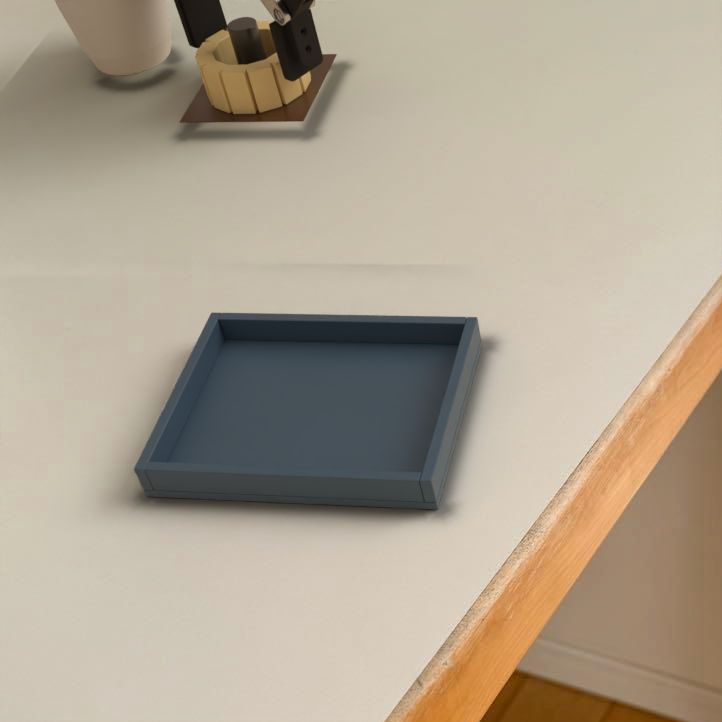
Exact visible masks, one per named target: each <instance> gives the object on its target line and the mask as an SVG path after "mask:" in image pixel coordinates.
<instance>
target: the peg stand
mask: <svg viewBox="0 0 722 722" xmlns="http://www.w3.org/2000/svg"><path fill="white" fill-rule="evenodd" d="M256 21H257V20H256V18H254V17H252V16H242V17H238V18H235V19H232V20H231V21H230V22H228V23H227V29H228V32H229V36H230V39H231V42H232V46H233V49H234V52H235V56H236V59H237V63H238V65H247V64H251V63H254V62H258V61H261V60H265V59H267V58H266V54H265V51H264V47H263V44H262V40H261V36H260V33H259V29H258V26H257V22H256ZM322 55H323V61H322V63H321V64H320V65H318V66H317V67H315V68H314V69H312V70H311V71H310V74H311V82H310V84H309V86H308V87H307V89H306V91H305V92H302V95H301V96H299V97H298V98H296V99H294V100H293V101H291V102H290V103H288V104H286V105H285V104H283V103H282V107H279V108H276V109H272V110H269V111H265V112H262V113H260V112H259V111H258V110H257V112H256V114H233V112H231V113H227V112H224V111H222V110H219V109H217V108H215V107H214V106H212V105H211V102H210V100H209V98H208V95H207V92H206V89H205V86H204V83H202V84H201V86H200V87H199V89H198V91H197V93H196V94H195V96H194V97H193V99H192V101H191V102H190V104H189V106H188V107H187V109H186V111H185V112H184V114H183V115H182V117H181V118H180V120H179V123H180V124H182V123H183V124H184V123H186V124H187V123H188V124H189V123H191V124H192V123H195V124H197V123H199V124H200V123H271V122H272V123H277V122H279V123H281V122H282V123H283V122H284V123H285V122H288V123H289V122H305V120H306V118H307V116H308V114H309V111H310V110H311V107H312V105H313V103H314V101H315V99H316V97H317V95H318V93H319V91H320V89H321V87H322V85H323V83H324V81H325V79H326V77H327V75H328V73H329V71H330V69H331V67H332V65H333V63H334V61H335V59H336V57H337V55H338V54H337V53H322Z"/></svg>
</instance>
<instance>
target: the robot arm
mask: <svg viewBox="0 0 722 722" xmlns="http://www.w3.org/2000/svg"><path fill="white" fill-rule="evenodd" d="M259 1H260V2H261V3H262V5H263V7H264V8H265V9H266V11H268V13H269V14H270V16H271V17H272V18H273V20H272V21H273V22H272V23H270V24H269V27H270V31H271V35H272V38H273V42H274V45H275V48H276V52H277V55H278V59H279V62H280V66H281V69H282V73H283V76H284V78H285V79H286V80H289V81H292V82H294V81H296V80H297V79H299V78H300V77H302V76H303V75H305V74H306V73H308V72H309V71H311V70H312V69H314V68H315V67H317V66H318V65H320V64H321V63H322V61H323V55H322V54H323V51H322V48H321V44H320V39H319V37H318V32H317V29H316V28H317V27H316V25H315V21H314V16H313V12H312V9H313V8H315V6H316V0H259ZM173 2H174V4H175V8H176V10H177V14H178V16H179V19H180V22H181V25H182V29H183V31H184V34H185V37H186V41H187V42H188V46H190V47H191V48H195V49H199V47H200V46H201V44H202V43H203V42H206V41H205V40H206V39H207V38H209V37H211V36H212V35H214V34H216V33H217V32H219V31H221V30H225V31H227V30H226V28H227V25H228V23H227V19H226V17H225V14H224V11H223V6H222V3H221V1H220V0H173Z"/></svg>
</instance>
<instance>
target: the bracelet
mask: <svg viewBox="0 0 722 722" xmlns="http://www.w3.org/2000/svg"><path fill="white" fill-rule="evenodd" d="M273 21H274V20H256V22H257V26H258V29H259V33H260V36H261V40H262V44H263V47H264V51H265V54H266V58H267V59H265V60H261V61H258V62H254V63H251V64H247V65H238V63H237V59H236V56H235V52H234V49H233V46H232V42H231V39H230V36H229V32H228V29H227V28H226V30H227V31H225V30H221V31H219V32H217V33H216V34H214V35H212V36H211V37H209V38H207V39H206V40H205V41H206V42H203V43H202V44H201V46H200V47H199V48H197V51H196V52H195V55H194V58H195V61H196V64H197V67H198V70H199V74H200V77H201V80H202V82H203V83H204V86H205V89H206V92H207V95H208V98H209V100H210V102H211V105H212V106H214V107H215V108H217V109H219V110H222V111H224V112H227V113H231V112H233V114H256V112H257V110H258V111H259V112H260V113H262V112H265V111H269V110H272V109H276V108H279V107H282V103H283V104H285V105H286V104H288V103H290V102H291V101H293V100H294V99H296V98H298V97H299V96H301V95H302V92H305V91H306V89H307V87H308V86H309V84H310V82H311V74H310V71H309V72H308V73H306V74H305V75H303V76H302V77H300V78H299V79H297V80H296V81H294V82H292V81H289V80H286V79H285V78H284V76H283V73H282V69H281V66H280V62H279V59H278V55H277V52H276V48H275V45H274V42H273V38H272V35H271V31H270V27H269V24H270V23H272V22H273ZM203 83H202V84H203Z"/></svg>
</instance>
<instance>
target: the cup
mask: <svg viewBox="0 0 722 722" xmlns="http://www.w3.org/2000/svg"><path fill="white" fill-rule="evenodd" d="M54 3H55V4H56V7H57V9H58V10H59V12H60V13H61V15H62V17H63V19H64V20H65V22H66V23H67V25H68V27H69V28H70V30H71V32H72V33H73V35H74V37H75V39H76V40H77V42H78V44H79V45H80V47H81V49H82V50H83V52H84V53H85V54H86V56H87V57H88V58H89V60H90V61H91V62H92V63H93V65H94V66H95V67H96V68H97V70H98V71H100V73H103V74H106V75H109V76H128V75H134V74H138V73H142V72H145V71H148V70H150V69H152V68H154V67H157V66H158V65H161V63H163V62H164V61H165V60H166V59H167V58H168V57H169V56H170V53H171V52H172V41H171V40H172V38H171V37H172V35H171V34H172V33H171V32H172V31H171V22H170V21H171V20H170V14H169V8H168V2H167V0H54Z"/></svg>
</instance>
